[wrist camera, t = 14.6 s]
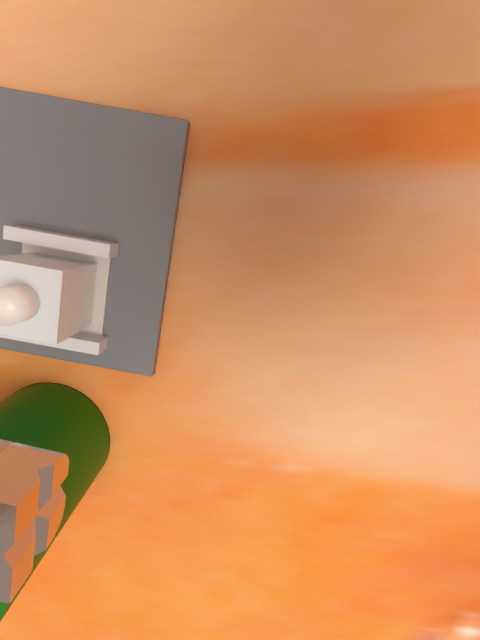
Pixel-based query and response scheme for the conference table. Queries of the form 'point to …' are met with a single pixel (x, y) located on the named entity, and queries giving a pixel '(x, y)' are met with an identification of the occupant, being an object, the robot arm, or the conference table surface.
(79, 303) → the white cube with knob
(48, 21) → the conference table surface
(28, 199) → the mounting plate
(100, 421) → the motor
